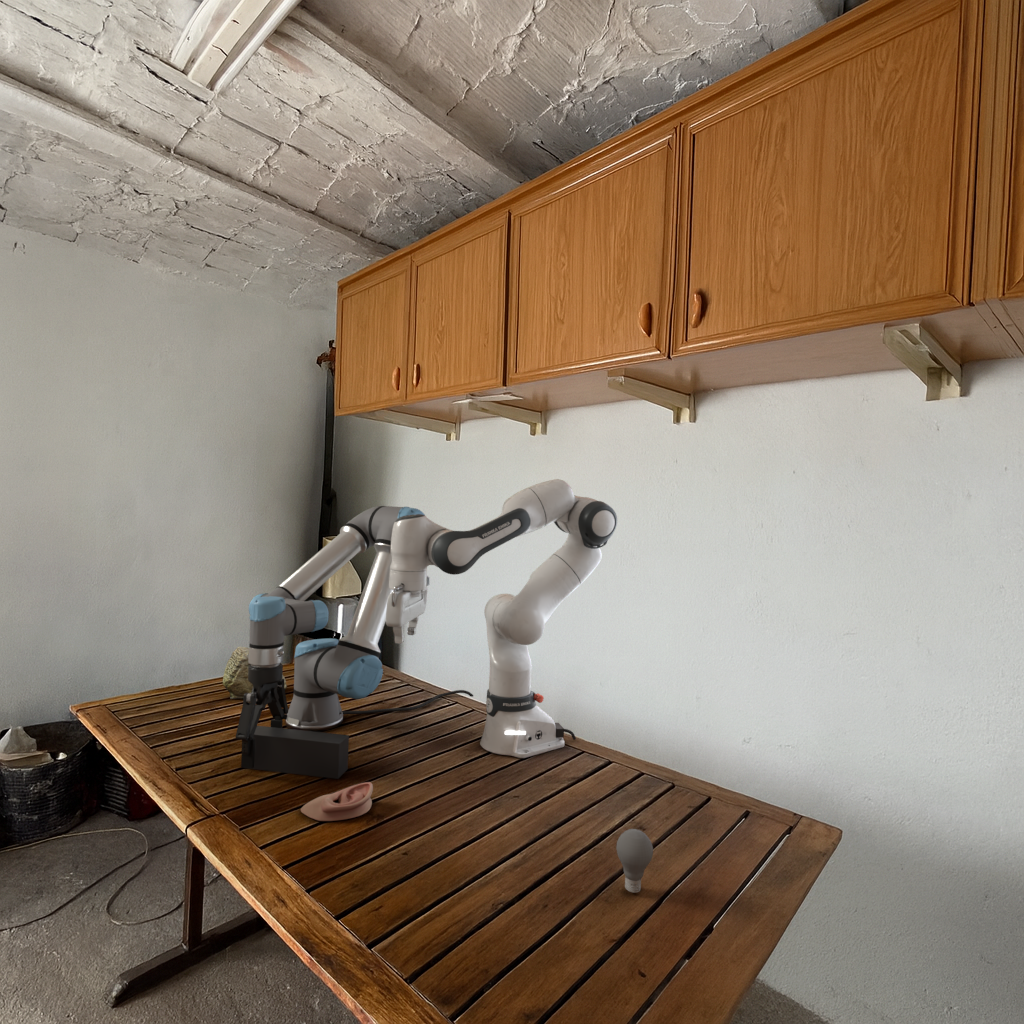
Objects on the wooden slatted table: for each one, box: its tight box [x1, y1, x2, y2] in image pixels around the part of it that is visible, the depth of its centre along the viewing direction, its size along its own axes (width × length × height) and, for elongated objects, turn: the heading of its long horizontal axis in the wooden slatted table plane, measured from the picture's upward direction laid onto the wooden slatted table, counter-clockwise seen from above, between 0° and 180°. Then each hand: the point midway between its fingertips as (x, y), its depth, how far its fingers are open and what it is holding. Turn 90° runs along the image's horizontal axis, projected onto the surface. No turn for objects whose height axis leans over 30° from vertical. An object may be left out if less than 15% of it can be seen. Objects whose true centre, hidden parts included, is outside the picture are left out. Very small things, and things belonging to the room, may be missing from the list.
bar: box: [242, 725, 350, 780], centre depth 147 cm, size 23×5×8 cm, turn 81°
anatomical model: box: [300, 781, 374, 822], centre depth 129 cm, size 13×4×12 cm
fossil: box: [222, 646, 288, 699], centre depth 198 cm, size 9×18×15 cm, turn 132°
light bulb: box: [615, 828, 654, 894], centre depth 106 cm, size 6×6×10 cm
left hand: (262, 756), depth 148 cm, fingers open, 11 cm apart
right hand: (405, 638), depth 153 cm, fingers open, 8 cm apart
